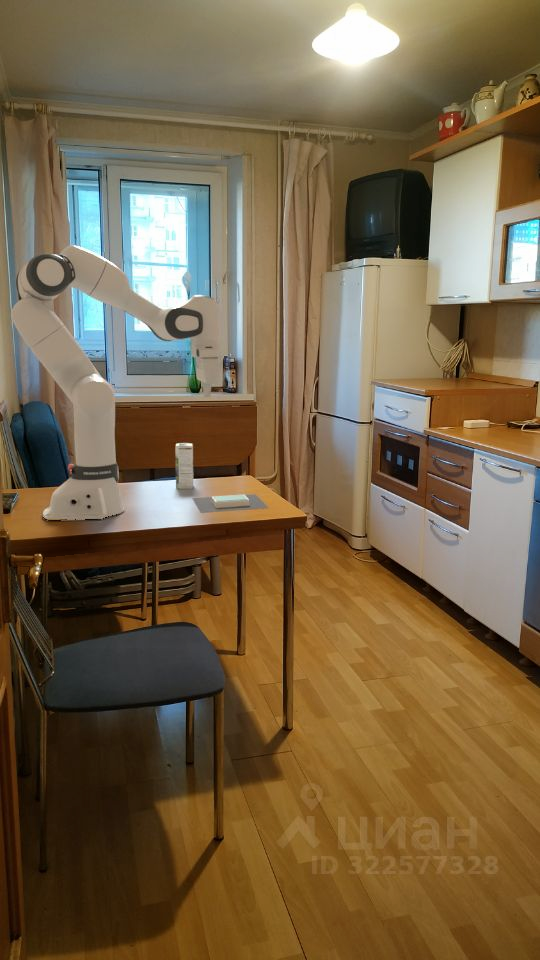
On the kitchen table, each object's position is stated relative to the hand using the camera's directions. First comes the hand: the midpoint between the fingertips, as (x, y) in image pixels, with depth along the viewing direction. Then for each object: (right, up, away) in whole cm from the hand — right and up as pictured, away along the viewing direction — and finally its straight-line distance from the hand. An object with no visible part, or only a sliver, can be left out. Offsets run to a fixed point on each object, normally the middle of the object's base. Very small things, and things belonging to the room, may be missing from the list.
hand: (207, 396), depth 210 cm
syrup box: (-9, -28, +18) cm, 35 cm away
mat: (+7, -33, -5) cm, 34 cm away
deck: (+7, -31, -3) cm, 32 cm away
